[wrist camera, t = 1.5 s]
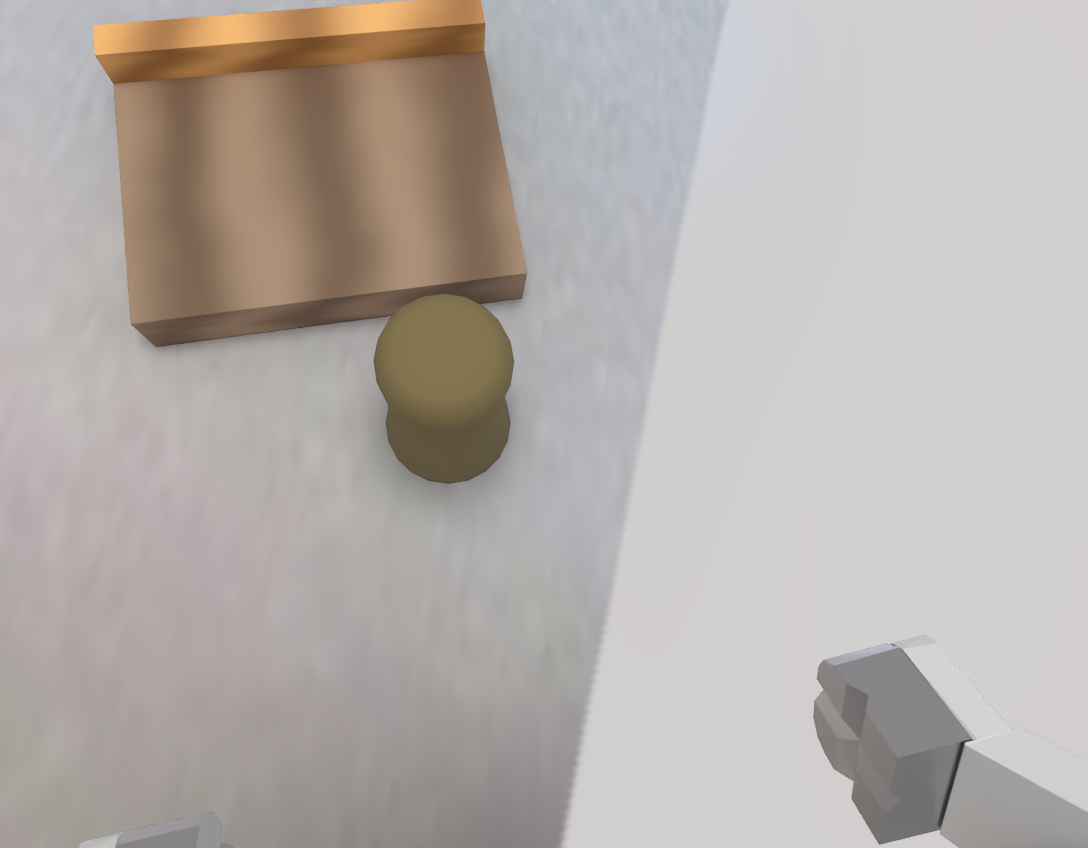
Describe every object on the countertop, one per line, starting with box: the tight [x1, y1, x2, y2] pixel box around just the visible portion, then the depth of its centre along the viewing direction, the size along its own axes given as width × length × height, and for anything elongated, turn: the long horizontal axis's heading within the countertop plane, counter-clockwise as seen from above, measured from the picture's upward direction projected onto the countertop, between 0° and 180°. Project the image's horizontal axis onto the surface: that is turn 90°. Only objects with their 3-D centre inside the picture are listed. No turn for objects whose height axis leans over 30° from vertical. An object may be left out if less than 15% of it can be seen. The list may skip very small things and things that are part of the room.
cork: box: [374, 294, 514, 484], centre depth 33 cm, size 6×6×11 cm
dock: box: [93, 0, 527, 347], centre depth 38 cm, size 18×14×5 cm
